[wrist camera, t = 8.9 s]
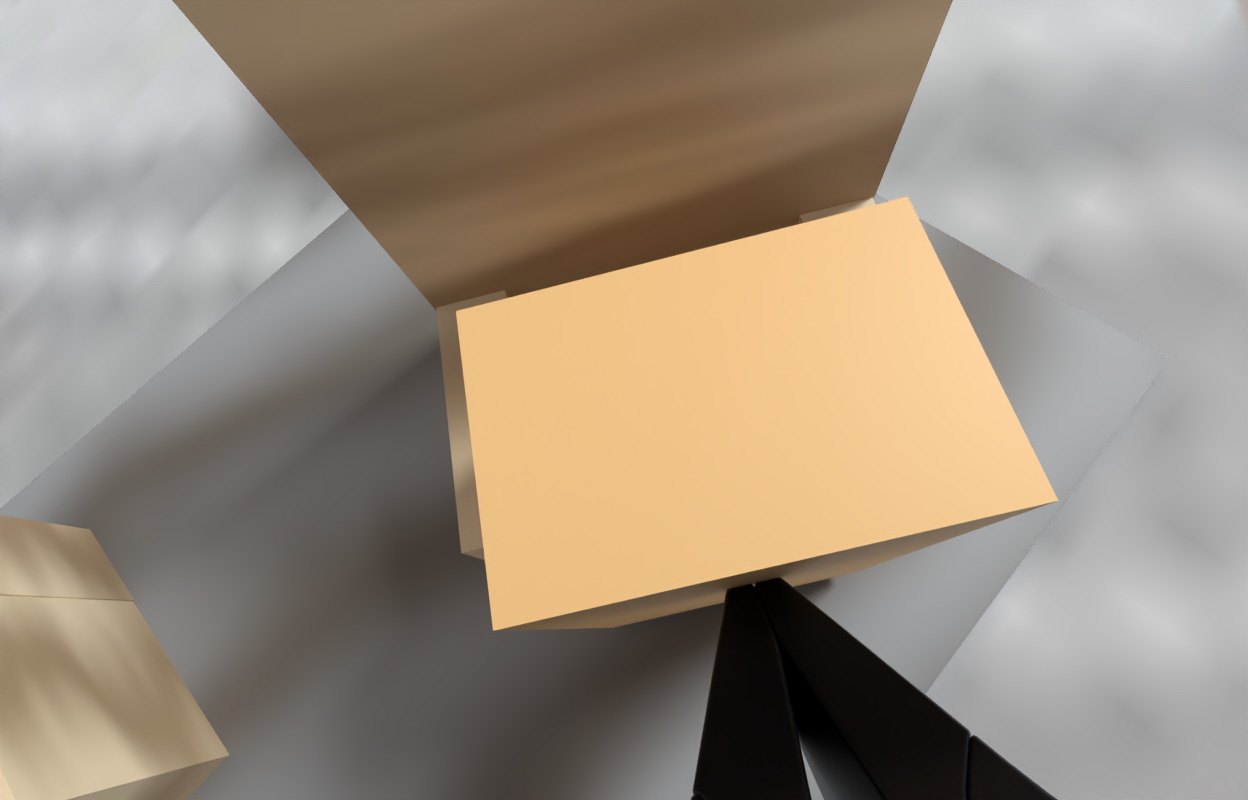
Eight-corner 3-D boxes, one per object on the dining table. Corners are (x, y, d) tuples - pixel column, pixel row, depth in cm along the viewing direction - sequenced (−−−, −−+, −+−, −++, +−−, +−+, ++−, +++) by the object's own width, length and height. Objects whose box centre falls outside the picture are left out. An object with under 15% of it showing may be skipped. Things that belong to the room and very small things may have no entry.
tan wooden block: (852, 573, 14) (1059, 499, 6) (613, 627, 15) (493, 630, 6) (800, 422, 16) (907, 196, 8) (584, 474, 16) (455, 311, 8)
